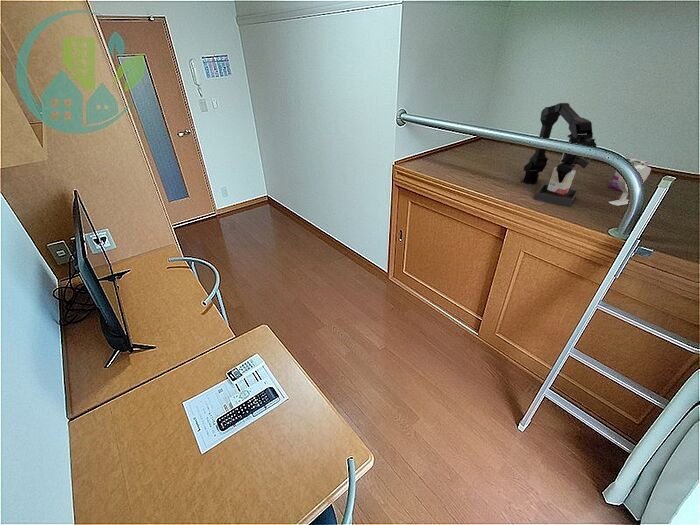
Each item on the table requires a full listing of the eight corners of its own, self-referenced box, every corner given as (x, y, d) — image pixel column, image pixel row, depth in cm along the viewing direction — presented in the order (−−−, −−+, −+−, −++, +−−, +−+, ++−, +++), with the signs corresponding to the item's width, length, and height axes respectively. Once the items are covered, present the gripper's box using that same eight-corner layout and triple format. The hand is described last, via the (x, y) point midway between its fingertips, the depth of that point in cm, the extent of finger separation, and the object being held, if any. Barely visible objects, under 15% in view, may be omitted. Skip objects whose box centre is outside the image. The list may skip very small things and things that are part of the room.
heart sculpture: (626, 198, 166) (644, 163, 156) (636, 201, 162) (655, 166, 152) (605, 202, 161) (621, 166, 151) (615, 206, 157) (632, 169, 147)
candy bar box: (635, 192, 172) (650, 161, 163) (628, 193, 171) (644, 162, 161) (614, 185, 181) (628, 156, 172) (608, 187, 179) (621, 157, 170)
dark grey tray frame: (534, 199, 166) (536, 192, 164) (541, 190, 176) (544, 184, 174) (569, 206, 157) (572, 200, 155) (575, 196, 168) (577, 190, 166)
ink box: (568, 193, 163) (577, 170, 156) (562, 195, 161) (571, 171, 154) (552, 188, 169) (560, 165, 162) (546, 189, 167) (554, 167, 160)
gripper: (589, 156, 143) (576, 189, 151) (595, 147, 155) (582, 179, 163) (561, 152, 149) (550, 184, 157) (569, 144, 161) (558, 174, 169)
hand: (561, 180), depth 162 cm, fingers closed on ink box, 6 cm apart
